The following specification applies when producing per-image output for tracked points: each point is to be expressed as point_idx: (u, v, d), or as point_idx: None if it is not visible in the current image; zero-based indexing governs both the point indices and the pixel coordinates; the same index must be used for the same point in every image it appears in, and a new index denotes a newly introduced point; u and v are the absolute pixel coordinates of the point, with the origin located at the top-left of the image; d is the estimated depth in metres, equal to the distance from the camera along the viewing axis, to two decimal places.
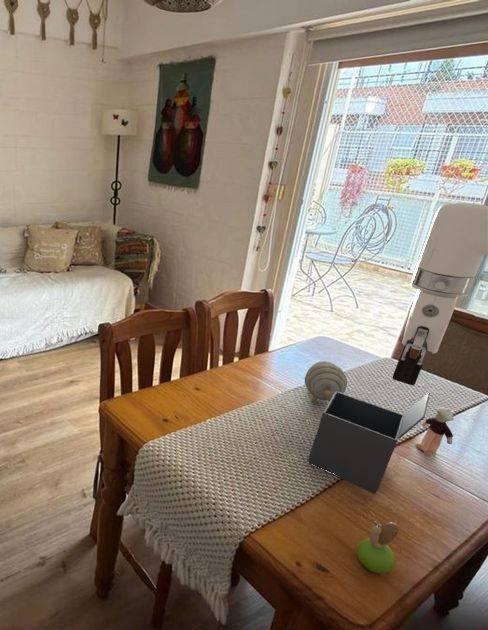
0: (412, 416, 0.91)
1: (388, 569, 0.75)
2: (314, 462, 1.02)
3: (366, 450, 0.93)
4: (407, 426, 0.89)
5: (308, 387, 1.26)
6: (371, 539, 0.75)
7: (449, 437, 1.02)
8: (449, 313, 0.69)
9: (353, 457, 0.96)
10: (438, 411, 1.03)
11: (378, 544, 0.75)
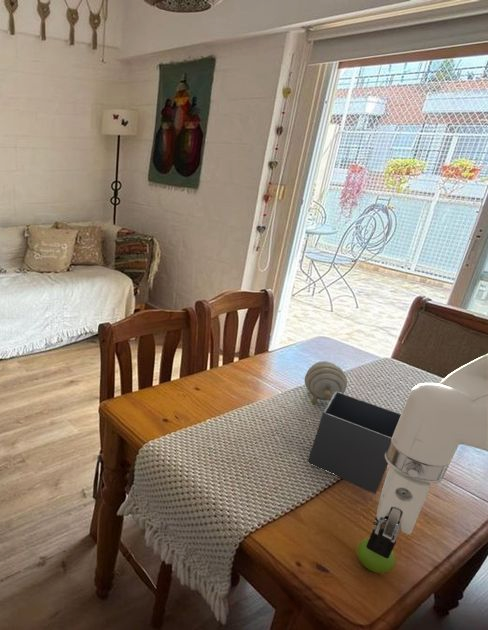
0: None
1: (388, 569, 0.75)
2: (314, 462, 1.02)
3: (366, 450, 0.93)
4: None
5: (308, 387, 1.26)
6: None
7: None
8: (423, 500, 0.66)
9: (353, 457, 0.96)
10: None
11: None
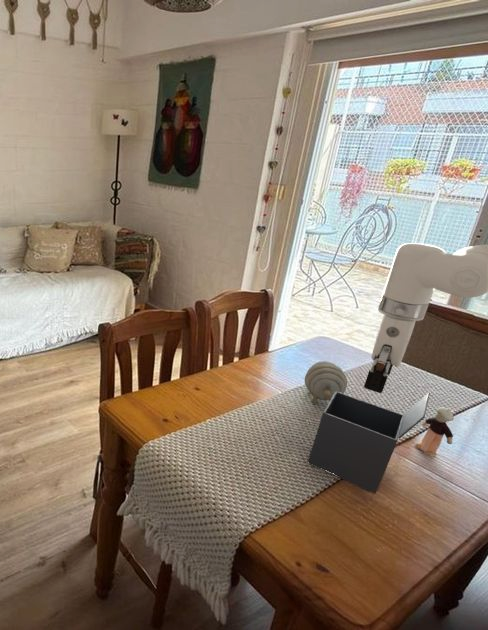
0: (412, 416, 0.91)
1: None
2: (314, 462, 1.02)
3: (366, 450, 0.93)
4: (407, 426, 0.89)
5: (308, 387, 1.26)
6: None
7: (449, 437, 1.02)
8: (407, 334, 0.84)
9: (353, 457, 0.96)
10: (438, 411, 1.03)
11: None
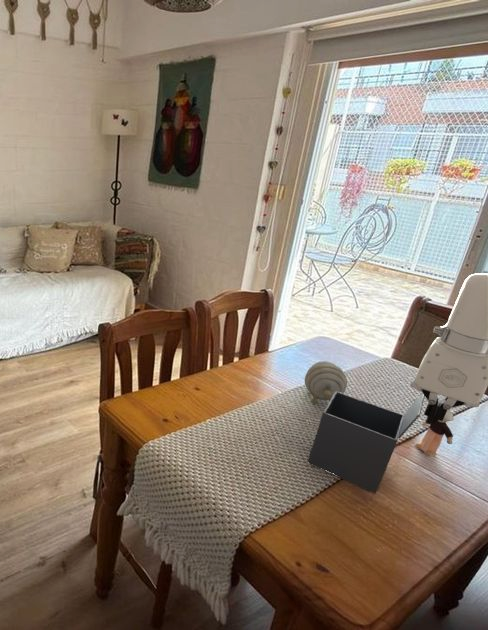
0: (410, 415, 0.91)
1: None
2: (314, 462, 1.02)
3: (366, 450, 0.93)
4: (405, 425, 0.89)
5: (308, 387, 1.26)
6: None
7: (449, 437, 1.02)
8: (430, 354, 0.84)
9: (353, 457, 0.96)
10: None
11: None
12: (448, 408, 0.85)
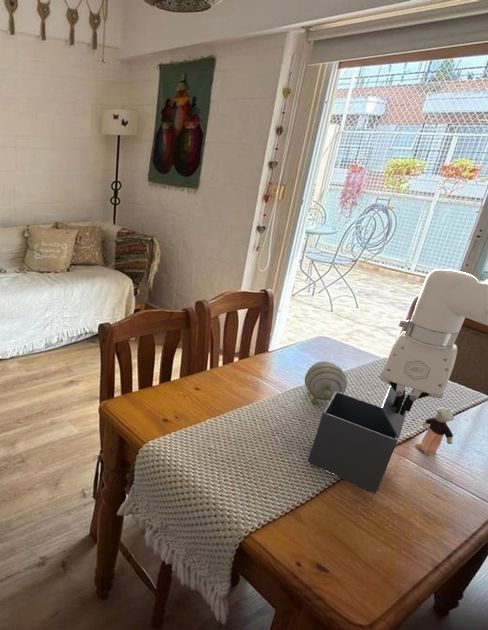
0: (393, 412, 0.93)
1: None
2: (314, 462, 1.02)
3: (366, 450, 0.93)
4: None
5: (308, 387, 1.26)
6: None
7: (449, 437, 1.02)
8: (396, 347, 0.87)
9: (353, 457, 0.96)
10: (438, 411, 1.03)
11: None
12: (414, 399, 0.89)
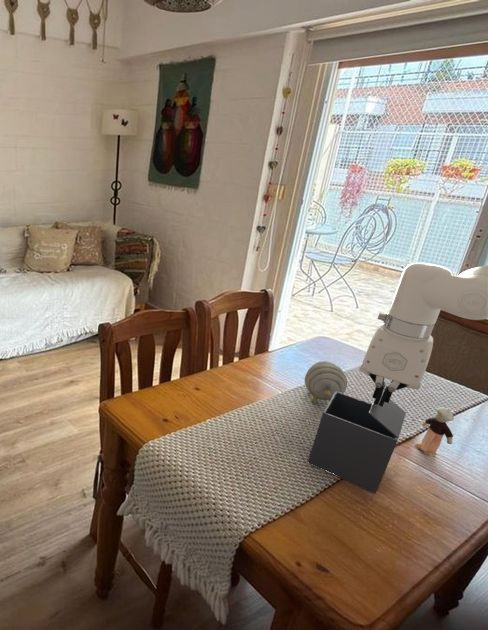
0: None
1: None
2: (314, 462, 1.02)
3: (366, 450, 0.93)
4: None
5: (308, 387, 1.26)
6: None
7: (449, 437, 1.02)
8: (374, 339, 0.90)
9: (353, 457, 0.96)
10: (438, 411, 1.03)
11: None
12: (393, 390, 0.91)
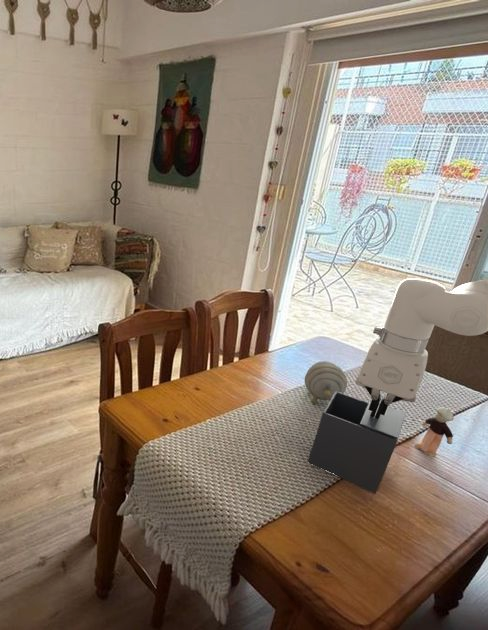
0: None
1: None
2: (314, 462, 1.02)
3: (366, 450, 0.93)
4: None
5: (308, 387, 1.26)
6: None
7: (449, 437, 1.02)
8: (370, 353, 0.91)
9: (353, 457, 0.96)
10: (438, 411, 1.03)
11: None
12: (388, 403, 0.92)
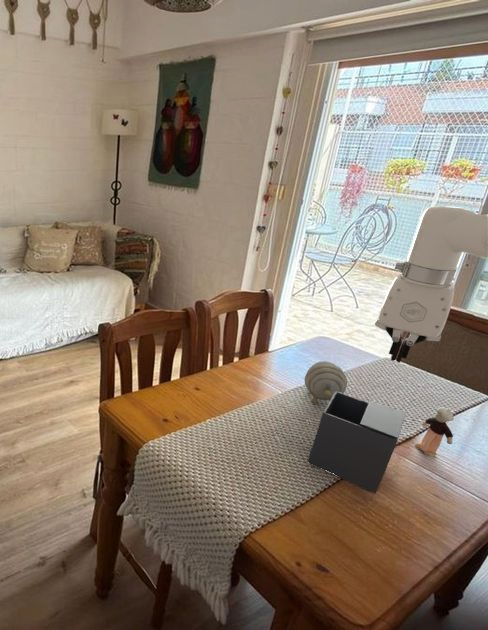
0: None
1: None
2: (314, 462, 1.02)
3: (366, 450, 0.93)
4: None
5: (308, 387, 1.26)
6: None
7: (449, 437, 1.02)
8: (392, 289, 0.85)
9: (353, 457, 0.96)
10: (438, 411, 1.03)
11: None
12: (411, 344, 0.87)
